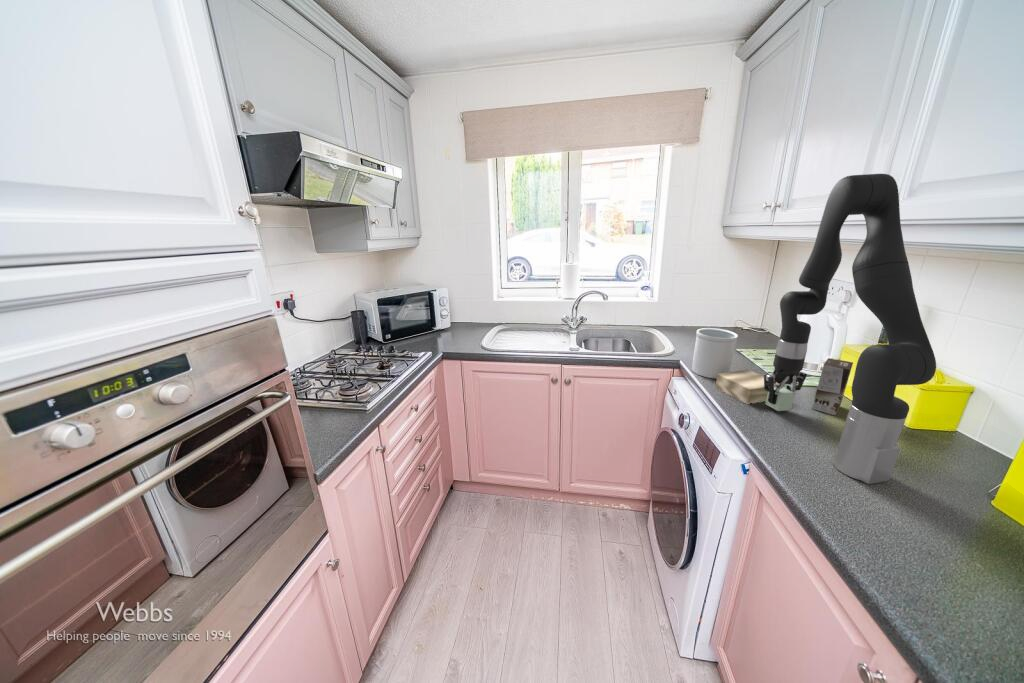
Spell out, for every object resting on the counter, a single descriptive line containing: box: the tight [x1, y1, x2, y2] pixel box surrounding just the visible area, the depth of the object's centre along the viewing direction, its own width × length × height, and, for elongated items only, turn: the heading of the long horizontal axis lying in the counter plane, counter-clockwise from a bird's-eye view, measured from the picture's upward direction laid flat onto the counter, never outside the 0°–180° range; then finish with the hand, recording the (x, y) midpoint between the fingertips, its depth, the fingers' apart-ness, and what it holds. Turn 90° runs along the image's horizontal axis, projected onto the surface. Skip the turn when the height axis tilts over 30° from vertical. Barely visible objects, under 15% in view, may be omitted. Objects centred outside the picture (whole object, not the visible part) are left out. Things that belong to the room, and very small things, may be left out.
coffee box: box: [811, 357, 854, 416], centre depth 115 cm, size 9×6×16 cm
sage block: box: [765, 386, 796, 412], centre depth 115 cm, size 5×5×6 cm
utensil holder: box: [691, 327, 739, 379], centre depth 145 cm, size 15×15×18 cm
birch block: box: [714, 369, 780, 405], centre depth 128 cm, size 14×14×6 cm
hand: (779, 402), depth 116 cm, fingers closed on sage block, 5 cm apart
